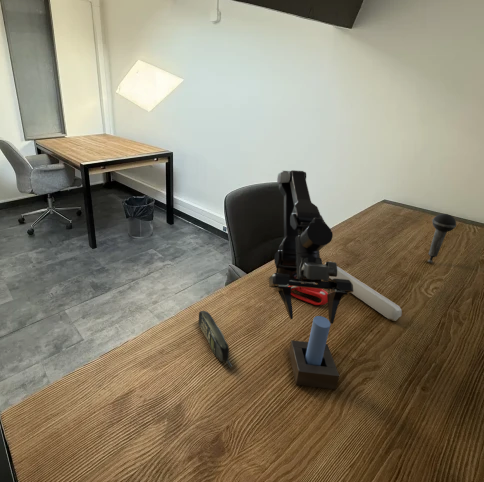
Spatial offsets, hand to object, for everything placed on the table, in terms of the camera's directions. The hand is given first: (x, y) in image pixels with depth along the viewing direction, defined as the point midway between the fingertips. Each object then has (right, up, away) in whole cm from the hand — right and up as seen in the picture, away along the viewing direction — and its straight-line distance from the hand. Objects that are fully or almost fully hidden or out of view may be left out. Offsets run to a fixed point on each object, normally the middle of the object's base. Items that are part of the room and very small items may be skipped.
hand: (311, 321), depth 71 cm
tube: (+24, -2, +23) cm, 33 cm away
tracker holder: (+7, -2, +23) cm, 24 cm away
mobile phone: (-23, -7, +4) cm, 24 cm away
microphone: (+62, +4, +43) cm, 75 cm away
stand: (-1, -10, -2) cm, 10 cm away
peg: (-1, -10, -2) cm, 11 cm away
